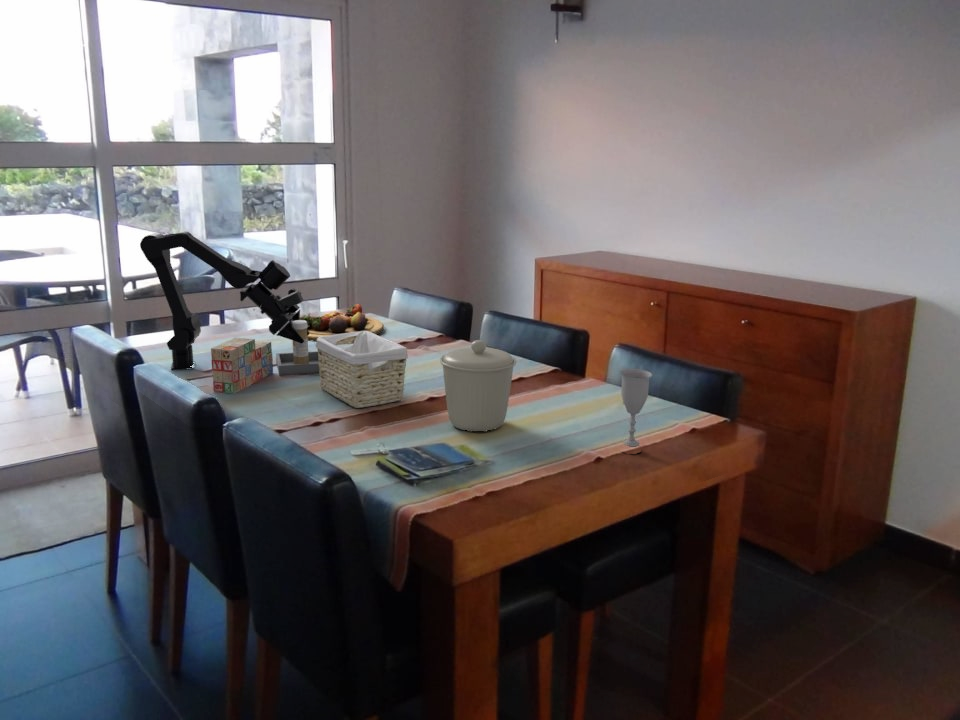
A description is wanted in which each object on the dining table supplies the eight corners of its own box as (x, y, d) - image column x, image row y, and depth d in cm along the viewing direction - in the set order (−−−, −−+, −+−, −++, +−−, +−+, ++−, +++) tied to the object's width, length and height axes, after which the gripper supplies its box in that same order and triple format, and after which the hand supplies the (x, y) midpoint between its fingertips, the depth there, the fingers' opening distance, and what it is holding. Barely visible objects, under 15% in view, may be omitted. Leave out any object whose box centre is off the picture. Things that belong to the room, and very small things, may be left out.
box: (276, 363, 254) (276, 353, 253) (323, 360, 258) (323, 351, 257) (279, 376, 241) (278, 365, 240) (328, 373, 245) (328, 363, 244)
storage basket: (314, 388, 231) (313, 335, 227) (368, 379, 240) (367, 328, 236) (353, 412, 212) (352, 355, 208) (410, 402, 221) (410, 347, 217)
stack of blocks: (254, 371, 246) (251, 329, 242) (273, 373, 244) (271, 331, 241) (213, 392, 226) (210, 347, 222) (234, 394, 224) (231, 349, 221)
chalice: (611, 444, 193) (616, 368, 188) (641, 444, 194) (646, 368, 189) (619, 456, 186) (624, 378, 181) (649, 456, 187) (655, 378, 182)
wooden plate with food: (339, 317, 317) (338, 296, 315) (402, 329, 298) (402, 306, 296) (271, 334, 292) (270, 311, 290) (336, 348, 274) (334, 323, 272)
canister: (442, 412, 213) (442, 330, 208) (514, 414, 213) (516, 332, 207) (436, 437, 196) (436, 349, 190) (514, 439, 195) (517, 351, 190)
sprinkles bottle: (294, 363, 251) (292, 319, 247) (310, 363, 251) (307, 319, 248) (292, 368, 247) (290, 323, 243) (308, 367, 247) (306, 323, 243)
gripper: (278, 287, 233) (320, 327, 237) (291, 276, 251) (329, 312, 255) (251, 315, 235) (293, 353, 238) (265, 301, 253) (304, 338, 256)
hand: (305, 338), depth 247 cm, fingers open, 9 cm apart
